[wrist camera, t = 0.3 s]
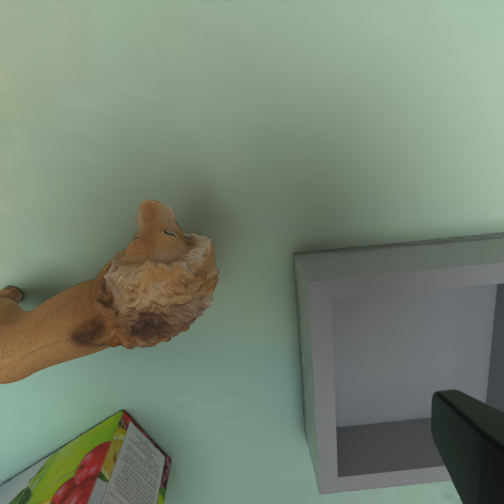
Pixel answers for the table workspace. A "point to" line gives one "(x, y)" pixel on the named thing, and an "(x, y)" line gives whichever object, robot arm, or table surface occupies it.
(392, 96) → the table surface
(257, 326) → the table surface
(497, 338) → the grey square tray
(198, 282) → the lion figurine
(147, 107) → the table surface
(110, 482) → the snack box
